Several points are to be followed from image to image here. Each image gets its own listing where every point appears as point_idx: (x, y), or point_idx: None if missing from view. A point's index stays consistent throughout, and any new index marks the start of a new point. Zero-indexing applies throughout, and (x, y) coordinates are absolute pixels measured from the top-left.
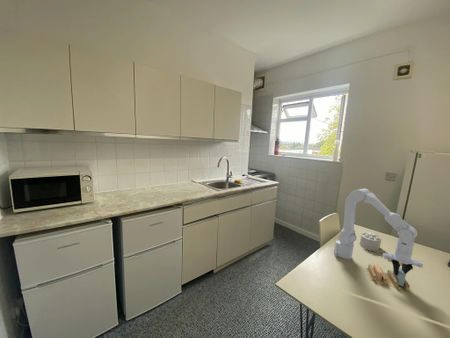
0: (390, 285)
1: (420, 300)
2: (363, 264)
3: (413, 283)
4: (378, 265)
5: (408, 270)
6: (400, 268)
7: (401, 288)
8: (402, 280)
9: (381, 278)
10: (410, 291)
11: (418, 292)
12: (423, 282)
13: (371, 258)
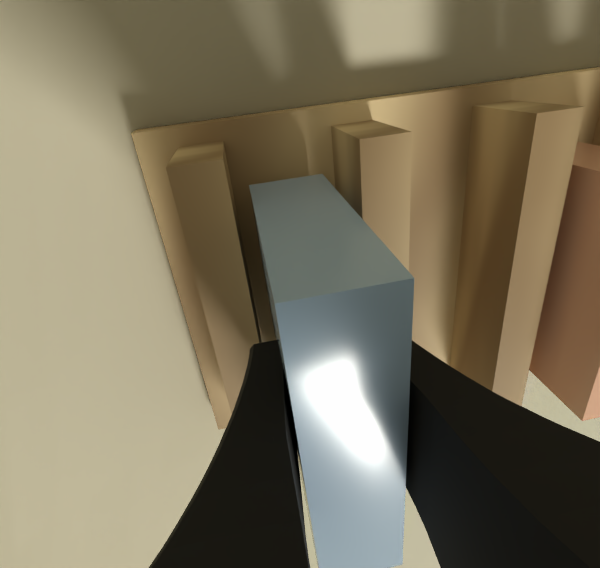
0: (419, 115)
1: (18, 14)
2: (555, 411)
3: (108, 416)
4: (586, 411)
5: (201, 530)
6: (321, 525)
7: (273, 145)
8: (294, 218)
9: None
10: (154, 152)
11: (53, 253)
12: (12, 505)
13: (432, 550)
